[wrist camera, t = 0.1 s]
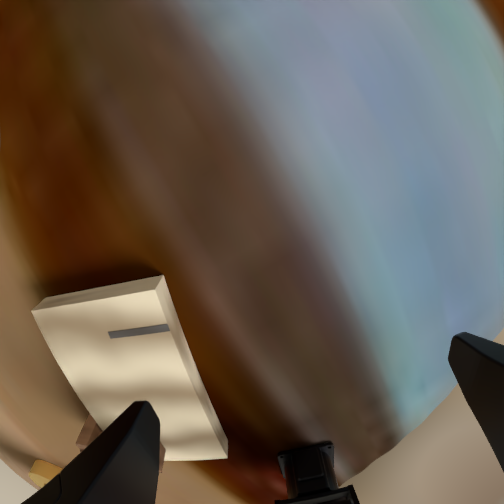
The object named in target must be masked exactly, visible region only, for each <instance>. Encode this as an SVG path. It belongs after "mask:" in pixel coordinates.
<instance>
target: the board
mask: <svg viewBox="0 0 504 504" xmlns="http://www.w3.org/2000/svg"><path fill="white" fill-rule="evenodd" d="M31 312H32V314H33V316H34V318H35V320H36V323H37V325H38V327H39V329H40V331H41V333H42V335H43V337H44V339H45V341H46V342H47V344H48V346H49V348H50V350H51V352H52V354H53V355H54V357H55V359H56V361H57V363H58V364H59V366H60V368H61V369H62V371H63V373H64V374H65V376H66V378H67V379H68V381H69V383H70V384H71V386H72V387H73V389H74V391H75V392H76V394H77V395H78V397H79V398H80V400H81V401H82V403H83V404H84V406H85V407H86V409H87V410H88V411H89V413H90V414H91V416H92V417H93V418H94V420H95V421H96V423H97V424H98V425H99V427H100V428H101V429H102V431H104V430H105V429H106V428H107V427H108V426H109V425H110V424H111V423H112V422H113V421H114V420H115V419H116V418H117V417H118V416H119V415H120V414H122V413H123V412H124V411H125V410H126V409H127V408H128V407H129V406H130V405H131V404H132V403H133V402H134V401H141V400H146V401H149V402H150V404H151V405H152V407H153V409H154V411H155V412H156V414H157V416H158V418H159V420H160V442H161V444H162V445H163V446H164V448H165V449H166V452H165V457H164V461H185V460H209V459H223V458H228V439H227V437H226V435H225V433H224V431H223V429H222V426H221V424H220V422H219V420H218V418H217V415H216V413H215V411H214V408H213V406H212V404H211V402H210V399H209V397H208V394H207V392H206V390H205V387H204V385H203V382H202V380H201V378H200V375H199V373H198V370H197V368H196V365H195V363H194V360H193V357H192V355H191V352H190V350H189V347H188V344H187V342H186V339H185V336H184V333H183V331H182V328H181V325H180V322H179V320H178V317H177V314H176V311H175V308H174V305H173V302H172V299H171V296H170V293H169V290H168V287H167V284H166V281H165V278H164V275H160V276H155V277H150V278H145V279H140V280H135V281H130V282H124V283H119V284H114V285H109V286H104V287H99V288H93V289H88V290H83V291H78V292H73V293H67V294H62V295H57V296H52V297H46V298H44V299H43V300H42V301H41V302H40V303H39V304H38V305H37V306H36V307H35V308H34V309H32V310H31Z"/></svg>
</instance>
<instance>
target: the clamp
mask: <svg viewBox="0 0 504 504" xmlns="http://www.w3.org/2000/svg"><path fill="white" fill-rule="evenodd" d="M62 469H63V468H60V467H58V466H56V465H53V464H51V463H49V462H46V461H43V460H35V462H34V464H33V466H32V468H31V470H30V473H29V477H30V478H31V480H32V481H33V482H34V483H35V484H37V485H38V486H39V487H40V488H42V487H43V486H45V485H46V484H47V483H48V482H49V481H50V480H52V479H53V478H54V477H55V476H56V475H57V474H58V473H60V471H61V470H62Z"/></svg>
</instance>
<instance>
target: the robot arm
mask: <svg viewBox="0 0 504 504" xmlns="http://www.w3.org/2000/svg"><path fill="white" fill-rule="evenodd" d="M448 361H449V364H450V366H451V368H452V371H453V373H454V375H455V377H456V379H457V381H458V383H459V386H460V388H461V390H462V392H463V395H464V397H465V399H466V401H467V403H468V405H469V406H470V408H471V410H472V412H473V414H474V415H475V417H476V419H477V421H478V422H479V424H480V426H481V428H482V430H483V432H484V434H485V436H486V437H487V439H488V441H489V443H490V445H491V447H492V449H493V451H494V453H495V455H496V457H497V459H498V461H499V463H500V465H501V468H502V470H503V472H504V345H501V344H498V343H495V342H493V341H490V340H487V339H484V338H481V337H478V336H475V335H473V334H470V333H467V332H462V333H459V334H457V335H455V336H453V338H452V341H451V346H450V351H449V356H448ZM277 456H278V460H279V464H280V467H281V470H282V474H283V477H284V478H286V485H287V493H288V499H286V500H275V504H360V503H359V501H358V498H357V495H356V493H355V490H354V487H353V485H348V486H347V487H344V488H338V484H337V480H336V477H335V473H334V469H333V468H334V446H333V443H325V444H321V445H317V446H312V447H307V448H303V449H297V450H292V451H287V452H281V453H278V454H277ZM159 462H160V420H159V418H158V416H157V414H156V412H155V411H154V409H153V407H152V405H151V404H150V402H149V401H146V400H141V401H134V402H133V403H132V404H131V405H130V406H129V407H128V408H127V409H126V410H125V411H124V412H123V413H122V414H120V415H119V416H118V417H117V418H116V419H115V420H114V421H113V422H112V423H111V424H110V425H109V426H108V427H107V428H106V429H105V430H104V431H103V432H102V433H101V434H100V435H99V436H98V437H97V438H95V439H94V440H93V441H92V442H91V443H90V444H89V445H88V446H87V447H86V448H85V449H84V450H83V451H82V452H81V453H80V454H79V455H77V456H76V457H75V458H74V459H73V460H72V461H71V462H70V463H69V464H68V465H67V466H66V467H65V468H64V469H62V470H61V471H60V473H58V474H57V475H56V476H55V477H54V478H53V479H52V480H50V481H49V482H48V483H47V484H46V485H45V486H43V487H42V488H41V489H40V490H39V491H37V492H36V493H35V494H34V495H32V496H31V497H30V498H28V499H27V500H25V501H24V502H23V503H21V504H155V498H156V490H157V482H158V475H159Z"/></svg>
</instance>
